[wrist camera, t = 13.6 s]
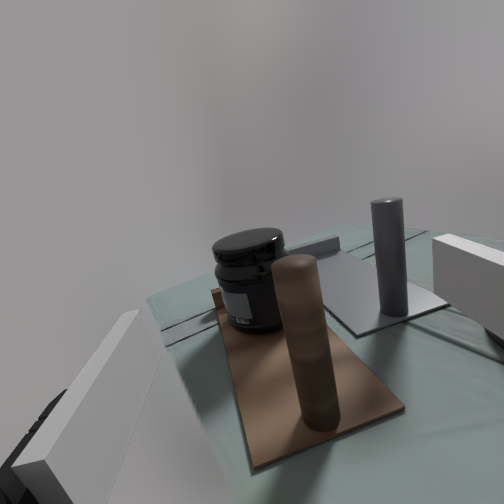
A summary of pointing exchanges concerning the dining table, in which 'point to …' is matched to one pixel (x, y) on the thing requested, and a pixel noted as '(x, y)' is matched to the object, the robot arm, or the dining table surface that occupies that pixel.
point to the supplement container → (250, 279)
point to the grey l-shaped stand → (370, 276)
